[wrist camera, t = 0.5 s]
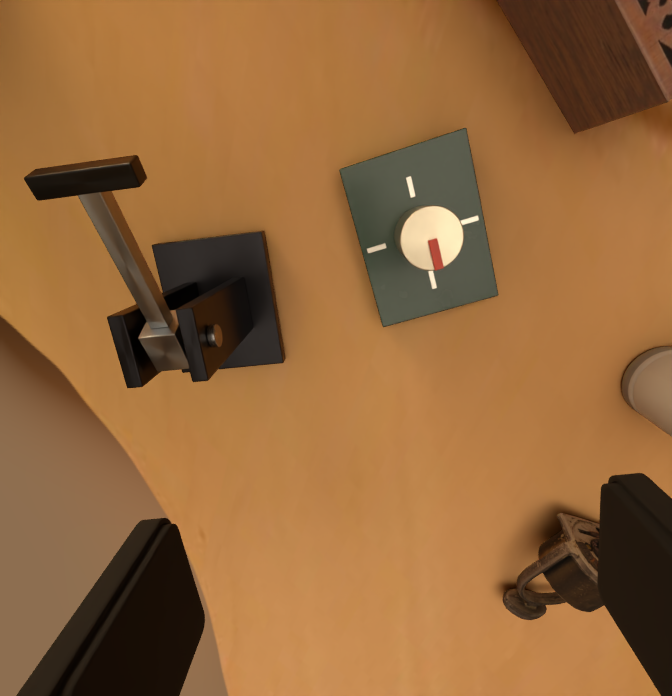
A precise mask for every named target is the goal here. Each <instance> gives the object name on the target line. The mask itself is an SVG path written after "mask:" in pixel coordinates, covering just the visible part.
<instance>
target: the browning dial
mask: <svg viewBox="0 0 672 696" xmlns="http://www.w3.org/2000/svg"><path fill="white" fill-rule="evenodd" d="M394 239H395V244H396V247H397V249H398V250H399V252H400V253H401V254H402V255H403V257H404V258H405V259H406V260H407V261H408V262H409V263H411V264H412V265H413V266H415V267H417V268H419V269H422V270H428V271H432V270H439V269H443V268H444V267H446V266H447V265H449V264H450V263H451V262H453V261H454V260H455V258H456V257H457V256H458V254H459V253H460V251H461V249H462V246H463V242H464V230H463V226H462V224H461V221H460V220H459V218H458V217H457V215H456V214H455V213H454V212H452V211H451V210H449V209H447V208H445V207H442V206H437V205H430V206H418V207H414V208H412V209H410V210H408V211H407V212H405V213H404V214H403V215H402V216H401V218H400V219H399V221H398V223H397V225H396V228H395V233H394Z"/></svg>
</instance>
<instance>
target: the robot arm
mask: <svg viewBox="0 0 672 696" xmlns="http://www.w3.org/2000/svg"><path fill="white" fill-rule="evenodd" d="M597 584H598V591H599V594H600V597H601V599H602V601H603V603H604V605H605V607H606V608H607V610H608V611H609V613H610V615H611V616H612V618H613V619H614V621H615V623H616V624H617V626H618V627H619V629H620V631H621V632H622V634H623V635H624V637H625V639H626V640H627V642H628V643H629V645H630V647H631V648H632V650H633V651H634V653H635V655H636V656H637V658H638V659H639V661H640V663H641V664H642V666H643V667H644V669H645V671H646V672H647V674H648V675H649V677H650V679H651V680H652V682H653V683H654V685H655V687H656V688H657V690H658V691H659V693H660V695H661V696H672V499H671V498H670V497H669V496H668V495H667V494H666V493H665V492H664V491H663V490H662V489H660V488H659V487H658V486H657V485H656V484H655V483H654V482H653V481H652V480H651V479H650V478H648V477H647V476H646V475H644V474H642V473H635V474H625V475H614V476H611V477H610V478H609V481H608V483H607V484H603V485H602V487H601V501H600V527H599V553H598V579H597ZM204 623H205V615H204V610H203V607H202V604H201V601H200V597H199V594H198V591H197V588H196V584H195V581H194V578H193V575H192V571H191V568H190V565H189V562H188V558H187V555H186V552H185V549H184V545H183V542H182V539H181V536H180V532H179V529H178V527H177V525H176V524H171V522H170V520H169V519H167V518H160V519H151V520H142V521H140V522H139V523H138V524H137V525H136V527H135V528H134V530H133V531H132V532H131V534H130V535H129V537H128V538H127V539H126V541H125V542H124V544H123V545H122V546H121V548H120V549H119V551H118V552H117V553H116V555H115V556H114V558H113V559H112V561H111V562H110V563H109V565H108V566H107V568H106V569H105V571H104V572H103V573H102V575H101V576H100V578H99V579H98V581H97V582H96V583H95V585H94V586H93V588H92V589H91V591H90V592H89V593H88V595H87V596H86V598H85V599H84V600H83V602H82V603H81V605H80V606H79V608H78V609H77V610H76V612H75V613H74V615H73V616H72V617H71V619H70V620H69V622H68V623H67V625H66V626H65V627H64V629H63V630H62V632H61V633H60V635H59V636H58V637H57V639H56V640H55V642H54V643H53V644H52V646H51V647H50V649H49V650H48V651H47V653H46V654H45V656H44V657H43V658H42V660H41V661H40V663H39V664H38V666H37V667H36V668H35V670H34V671H33V673H32V674H31V676H30V677H29V678H28V680H27V681H26V683H25V684H24V686H23V687H22V688H21V690H20V691H19V693H18V694H17V696H179V695H180V692H181V689H182V687H183V684H184V681H185V679H186V676H187V673H188V670H189V667H190V665H191V662H192V659H193V657H194V654H195V651H196V648H197V646H198V643H199V641H200V638H201V635H202V632H203V629H204Z"/></svg>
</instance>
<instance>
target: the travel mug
mask: <svg viewBox="0 0 672 696" xmlns="http://www.w3.org/2000/svg"><path fill="white" fill-rule="evenodd" d="M622 394H623V396H624V399H625V401H626V402H627V404H628V405H629V406H631V407H632V408H633V409H634V410H636V411H637V412H638V413H640V414H641V415H643V416H644V417H645V418H647V419H648V420H649V421H651V422H652V423H654V424H655V425H656V426H658V427H659V428H660V429H662V430H663V431H665V432H666V433H667V434H669V435H670V436H671V437H672V347H671V346H665V347H658V348H654V349H651V350H649V351H647V352H645V353H643V354H641V355H640V356H638V357H637V358H636V359H635V360H634V361H633V362H632V363H631V364H630V365H629V367H628V368H627V370H626V372H625V374H624V376H623V380H622Z"/></svg>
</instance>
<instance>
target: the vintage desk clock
mask: <svg viewBox="0 0 672 696" xmlns="http://www.w3.org/2000/svg"><path fill="white" fill-rule="evenodd" d="M557 518H558V520H559V522H560V524H561V527H562V530H561V531H560V532H559V533H557V534H556V535H554V536H553V537H551V538H550V539H548V540H547V541H545V542H544V543H543V544H541V546H540V547H539V552H538V556H539V560H537V561H536V562H534V563H532V564H531V565H530V566H528V567H527V568H526V569H525V570H524V571H523V572H522V573H521V574H520V575H519V576H518V579H517V589H509V590H507V591H506V592H504V595H503V603H504V605H505V607H506V608H507V609H508V610H509V611H510V612H511V613H512V614H514V615H516V616H518V617H519V618H521V619H526V620H533V619H537V618H539V617H541V616H543V615H544V614H545V613H546V609H547V608H546V605H554V604H561V603H565V602H567V603H568V604H570V605H571V606H573V607H574V608H576V609H578V610H581V611H585V612H592V611H594V610H596V609H598V608H600V607H602V606H604V603H603V601H602V599H601V597H600V594H599V591H598V584H597V579H598V553H599V527H600V524H598V523H595V522H591V521H588V520H585V519H581V518H578V517H575V516H571V515H567V514H564V513H560V514H557ZM541 573H543V574H544V576H545V577H546V579H547V581H548V582H549V583H550V585H551V586H552V588H553V589H554V590H555V592H554V593H536V592H533V591H529V590H525V589H524V588H525V586H526V585H527V583H528V582H530V581H531V580H532V579H533V578H535V577H536V576H538V575H539V574H541Z"/></svg>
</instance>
